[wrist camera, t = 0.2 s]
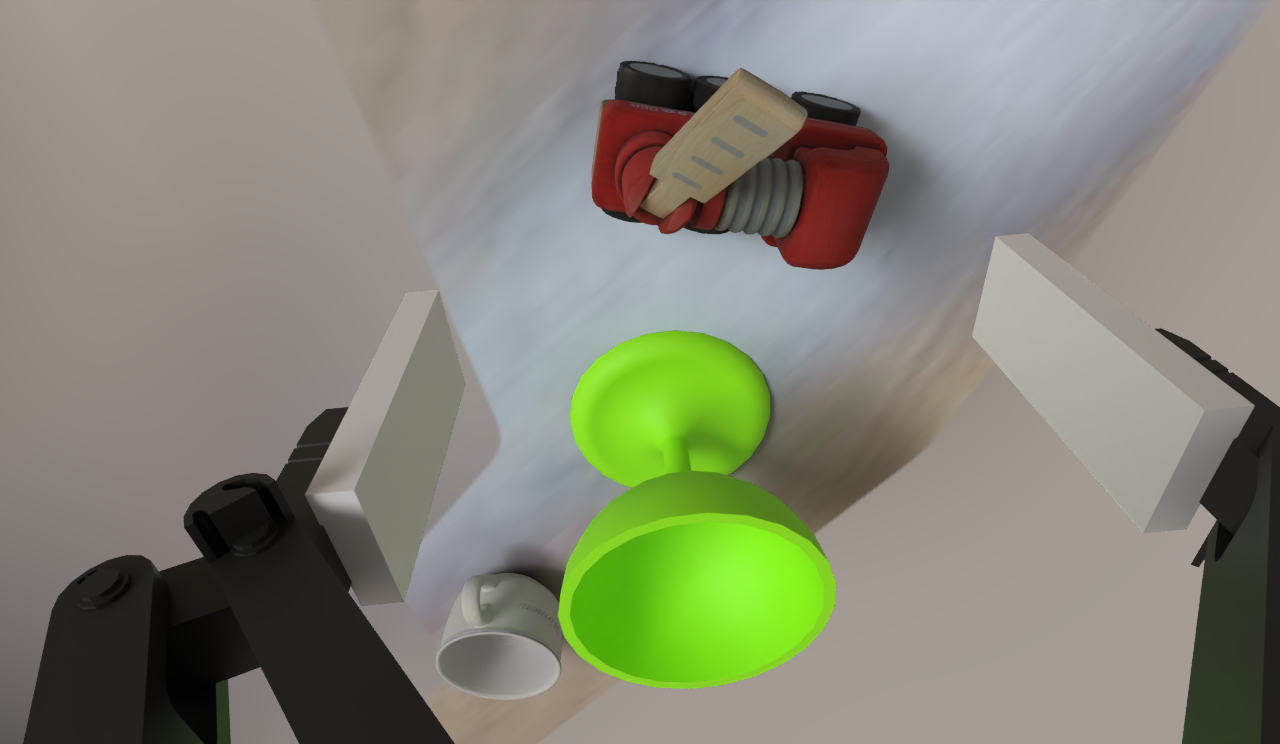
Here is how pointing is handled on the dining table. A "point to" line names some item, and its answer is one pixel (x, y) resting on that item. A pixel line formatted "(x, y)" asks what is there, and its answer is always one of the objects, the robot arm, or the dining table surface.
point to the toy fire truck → (738, 162)
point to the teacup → (502, 638)
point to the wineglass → (686, 523)
